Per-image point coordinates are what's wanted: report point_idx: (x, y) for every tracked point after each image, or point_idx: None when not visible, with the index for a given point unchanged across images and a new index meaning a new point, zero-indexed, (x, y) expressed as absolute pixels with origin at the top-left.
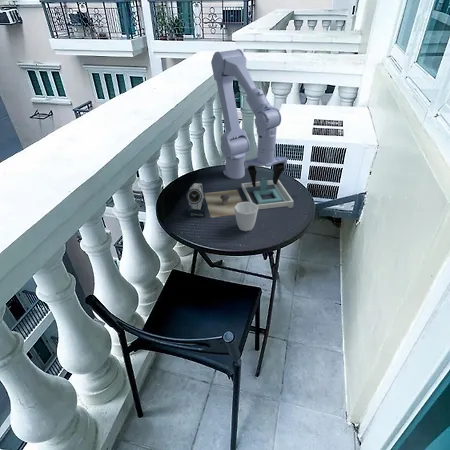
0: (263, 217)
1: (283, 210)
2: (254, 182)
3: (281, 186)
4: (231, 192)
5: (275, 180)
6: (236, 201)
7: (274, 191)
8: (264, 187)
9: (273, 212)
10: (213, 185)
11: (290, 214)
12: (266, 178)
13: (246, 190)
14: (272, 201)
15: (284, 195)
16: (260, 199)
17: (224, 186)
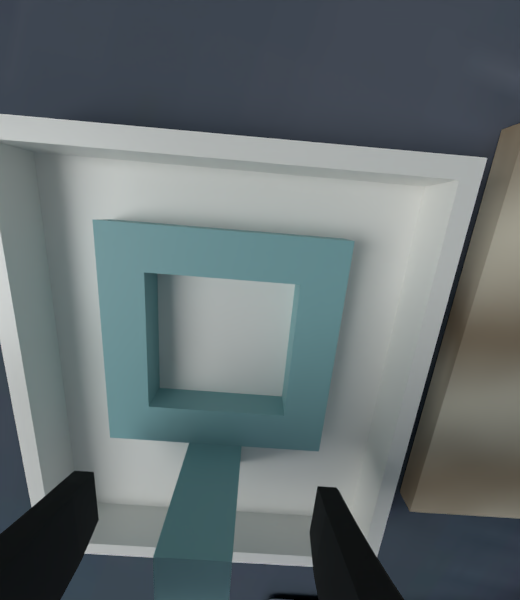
0: (373, 48)
1: (137, 119)
2: (354, 543)
3: (39, 449)
4: (470, 487)
5: (50, 523)
6: (506, 357)
7: (131, 395)
8: (211, 465)
9: (243, 113)
10: (503, 591)
11: (88, 14)
12: (158, 587)
13: (387, 467)
14: (209, 228)
15: (58, 339)
16: (319, 296)
17: (443, 567)
